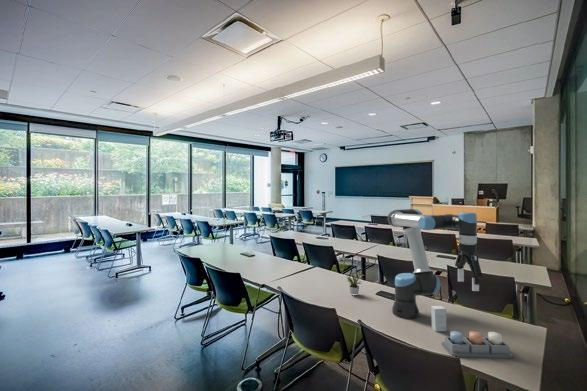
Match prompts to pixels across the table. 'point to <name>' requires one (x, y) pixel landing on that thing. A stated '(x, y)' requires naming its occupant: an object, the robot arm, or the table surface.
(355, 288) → the house plant
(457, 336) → the blue button
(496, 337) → the button cream
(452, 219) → the robot arm
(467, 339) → the tray
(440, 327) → the skincare box
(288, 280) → the table surface
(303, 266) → the table surface
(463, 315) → the table surface
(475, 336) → the button terracotta
